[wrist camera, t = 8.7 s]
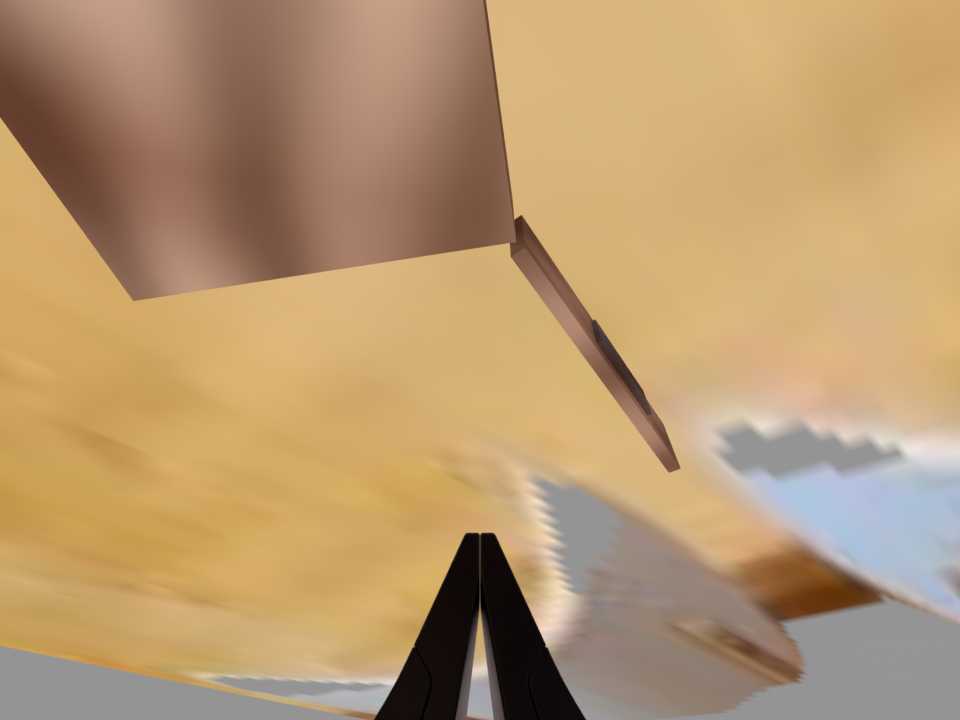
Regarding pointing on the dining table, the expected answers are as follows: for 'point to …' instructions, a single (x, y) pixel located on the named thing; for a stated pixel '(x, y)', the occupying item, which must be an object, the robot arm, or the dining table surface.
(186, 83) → the brown piece
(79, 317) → the dining table surface
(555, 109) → the dining table surface
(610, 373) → the flap
